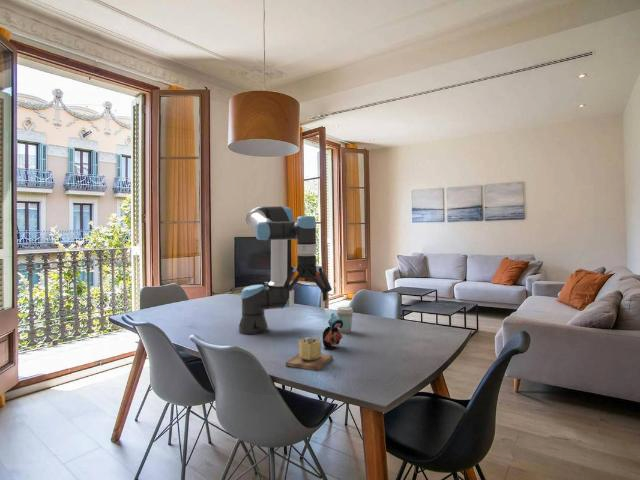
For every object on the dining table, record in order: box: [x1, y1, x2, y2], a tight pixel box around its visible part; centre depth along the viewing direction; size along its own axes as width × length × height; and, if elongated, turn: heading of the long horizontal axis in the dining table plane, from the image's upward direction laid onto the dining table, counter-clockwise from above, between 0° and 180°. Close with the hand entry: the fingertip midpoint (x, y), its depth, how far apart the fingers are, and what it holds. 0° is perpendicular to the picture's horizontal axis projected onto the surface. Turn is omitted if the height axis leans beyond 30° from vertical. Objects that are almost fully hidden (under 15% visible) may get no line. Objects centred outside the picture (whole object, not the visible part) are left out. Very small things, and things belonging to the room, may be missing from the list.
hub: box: [298, 337, 322, 360], centre depth 146 cm, size 8×8×6 cm
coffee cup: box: [336, 306, 354, 334], centre depth 190 cm, size 8×8×12 cm
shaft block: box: [285, 336, 333, 372], centre depth 146 cm, size 14×14×10 cm
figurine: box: [321, 313, 343, 351], centre depth 164 cm, size 10×7×15 cm
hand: (307, 307), depth 149 cm, fingers open, 13 cm apart
